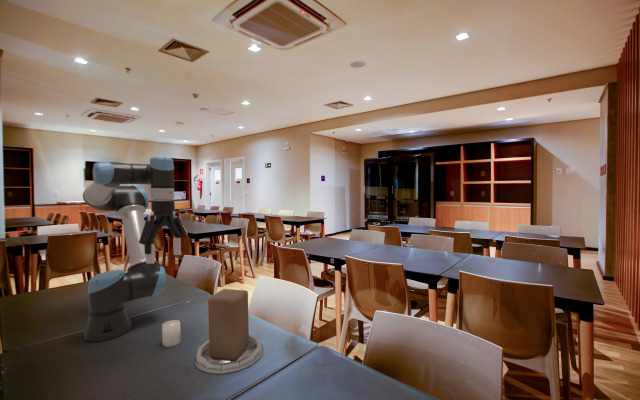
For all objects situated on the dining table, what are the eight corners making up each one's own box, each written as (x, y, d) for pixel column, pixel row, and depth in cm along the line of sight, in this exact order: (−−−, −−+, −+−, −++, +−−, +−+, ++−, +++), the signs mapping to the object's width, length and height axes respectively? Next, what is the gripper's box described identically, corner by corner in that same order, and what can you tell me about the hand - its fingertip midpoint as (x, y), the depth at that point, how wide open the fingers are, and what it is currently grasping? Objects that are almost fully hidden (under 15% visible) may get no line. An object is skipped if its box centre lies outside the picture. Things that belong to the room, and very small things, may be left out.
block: (236, 361, 96) (235, 299, 96) (208, 358, 98) (206, 297, 98) (250, 345, 106) (249, 289, 105) (224, 343, 108) (222, 287, 107)
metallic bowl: (179, 369, 94) (179, 361, 94) (218, 335, 115) (218, 329, 115) (245, 378, 89) (245, 370, 89) (272, 341, 111) (272, 334, 111)
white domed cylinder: (158, 345, 108) (157, 326, 108) (170, 337, 114) (169, 319, 114) (173, 347, 107) (172, 328, 107) (184, 339, 113) (183, 320, 112)
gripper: (144, 201, 96) (146, 268, 97) (193, 199, 120) (194, 252, 121) (125, 201, 97) (127, 267, 98) (177, 199, 122) (178, 251, 123)
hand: (164, 258), depth 110 cm, fingers open, 13 cm apart
